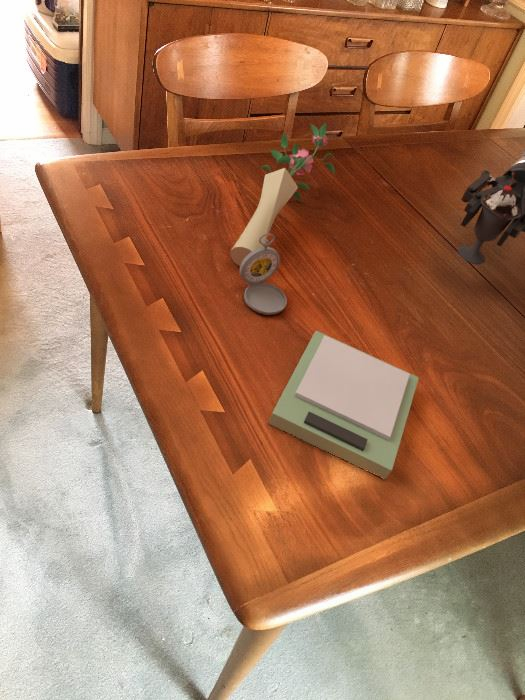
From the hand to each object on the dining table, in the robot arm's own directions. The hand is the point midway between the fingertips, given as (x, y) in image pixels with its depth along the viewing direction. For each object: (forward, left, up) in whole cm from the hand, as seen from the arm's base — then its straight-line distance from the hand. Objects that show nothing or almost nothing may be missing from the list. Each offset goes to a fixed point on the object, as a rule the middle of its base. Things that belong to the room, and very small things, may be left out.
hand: (484, 228), depth 87 cm
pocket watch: (+27, +21, -14) cm, 37 cm away
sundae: (-1, -5, -8) cm, 10 cm away
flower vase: (+33, 0, -14) cm, 36 cm away
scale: (+9, +34, -14) cm, 38 cm away
